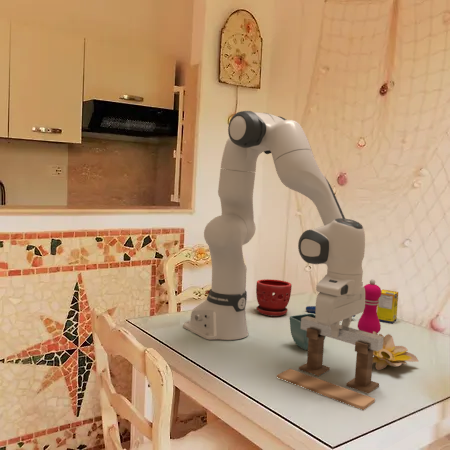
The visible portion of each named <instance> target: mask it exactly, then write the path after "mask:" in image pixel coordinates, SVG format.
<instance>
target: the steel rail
mask: <svg viewBox="0 0 450 450" xmlns="http://www.w3.org/2000/svg"><path fill="white" fill-rule="evenodd" d="M338 327H339V330H341V331H340V336H339V337H337V338H335V337H332V336H331V331H332V330H331V327H330V325H329V326H326V325H322V324H319V323H317V321H316V318H313V317H309V316H306V317H303V318H301V328H300V329H303V330H306V331H307V328H311V329H315V330H318V334H320V335H323V336H326V338H331V339H333V340H336V341H337V340H338V341H341V342H345V343H348V344H349V345H350V344H351V345H354V346H355V342H356V341H358V342H362V343H365V344H368V349H371V350H374V351H379V350H381V349H383V338H384V337H385V336H384V335H383V336H384V337H383V336H379V334H378V335H375V334H372V333H368V332H364V331H361V330H359V329H358V328H353V327H350V326H349V327H346V326H342V324H339V325H338Z"/></svg>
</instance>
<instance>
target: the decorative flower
mask: <svg viewBox="0 0 450 450" xmlns="http://www.w3.org/2000/svg"><path fill="white" fill-rule="evenodd" d="M373 334H375V335H379V336H383V337H384V338H383V349H381V350H379V351H373V364H374V363H375V369H376V370H377V371H381V370H383V369H385V368H386V367H387V366H388V367H390V366H391V367H394V368H395V367H399V366H401V365H405V364H407V362H410V363H411V362H412V363H413V362H415V363H416V362H417V363H419V359H418V357H417V356H416V355H414V354H413V353H411V352H409V351H408V348H407V347H406V346H403V345H396V344H395V341H394V337H393V336H392V335H391V334H389V333H388V334H386V335H385V336H384V335H383V334H382V333H376V332H373Z"/></svg>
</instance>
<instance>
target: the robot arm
mask: <svg viewBox="0 0 450 450" xmlns="http://www.w3.org/2000/svg"><path fill="white" fill-rule="evenodd" d="M227 130H228V131H227V132H228V139H227V140H226V143H225V145H224V148H223V153H222V157H221V163H220V171H219V178H218V179H219V181H218V189H217V194H218V197H219V199H220V207H221V208H220V209H221V215H218V216H216V217H213V219H211V220H210V221H209V222H208V223H206V225H205V228H204V232H203V237H204V241H205V243H206V244H207V246H208V248H209V254H210V260H211V261H210V262H211V288H210V289H208V290H204V292H205V293H204V295H207V297H206V300H204V301H202V302H201V303H199V304H198V305H196V307H194V308H193V309H192V311H191V313H190V319H189V320H187V321H186V322H184V323H183V324H182V328H184V329H185V330H188V331H189V332H192V333H193V334H196V335H198V336H199V337H201V338H204V339H205V340H223V341H224V340H225V341H227V340H228V341H232V340H240V339H244V338H246V337H248V335H249V330H248V324H247V316H246V313H247V312H246V305H247V299H248V297H247V296H248V295H247V289H246V286H247V285H246V284H247V265H246V263H245V260H244V255H243V246H245V245H246V244H248V243H249V242H250V241H251V240H252V239H253V237H254V235H255V234H256V223H255V220H254V218H255V217H254V215H255V214H254V189H255V188H254V187H255V179H256V169H257V160H258V157H259V156H260V155H261V154H262V153H264V154H266V155H269V154H271V156H272V161H273V164H274V168H275V172H276V174H277V176H278V178H279V180H280V182H281V183H282V185H284V186H285V187H287V188H288V189H289V190H290V189H291V190H292V191H295V192H297V193H299V194H301V195H303V196H305V197H307V198H308V199H309V200H310V201H311V202H313V204H314V205H315V207H316V209H317V212H318V214H319V216H320V218H321V220H322V224H323V226H320V227H314V228H309V229H307V230H305V231H303V232H302V234H301V235H300V237H299V239H298V243H297V244H298V247H297V248H298V253H299V255H300V257H301V259H302V260H303V261H304V262H305V263H307V264H311V265H326V266H327V268H326V269H327V270H326V274H325V275H324V276H323V278H322V279H321V280H320V281H318V282H317V283H316V287H315V291H316V292H317V295H316V298H315V306H316V310H315V313H314V315H315V318H316V321H317V323H319V324H322V325H326V326H329V325H330V327H331V330H332V331H331V336H332V337H335V338H337V337H339V336H340V331H341V330H339V327H338V325H342V326H346V327H350V325H351V322H352V320H353V316H354V315H359V314H361V313H362V314H363V311H364V308H365V288H364V284H363V283H364V282H363V274H364V273H363V272H364V271H363V266H362V265H363V260H364V257H365V248H366V236H365V235H366V234H365V229H364V226H363V225H362V223H360V222H359V221H357V220H355V219H354V220H353V219H349V218H346V217H345V215H344V212H343V211H342V208H341V206H340V204H339V201H338V199H337V196H336V194H335V192H334V190H333V188H332V185H331V184H330V182H329V181H328V179H327V178H326V176H325V175H324V173H323V172H322V171H321V169H320V167H319V165H318V162H317V160H316V159H315V155H314V153H313V150H312V147H311V144H310V142H309V139H308V137H307V134H306V133H305V130H304V129H303V127H302V125H301V124H300V123H299V122H298V121H296V120H294V119H287V118H284V117H283V116H280V115H279V116H277V115H274V114H273V113H272V114H271V113H267V112H260V111H259V112H258V111H251V110H241V111H238V112H236V113H234V114H233V116H232V117H231V118H230V121H229V123H228V129H227ZM340 322H341V324H340Z"/></svg>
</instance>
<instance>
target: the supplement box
mask: <svg viewBox="0 0 450 450" xmlns="http://www.w3.org/2000/svg"><path fill="white" fill-rule="evenodd" d="M378 300H379V304H378V305H377V316H378V319H379V321H380V322H383V323H389V324H394V323H395V322H394V321H396V320H397V317H398V315H397V314H398V306H399V305H398V304H399V291H397V290H396V291H395V290H389V289H381V296H380V297H379V298H378Z"/></svg>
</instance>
